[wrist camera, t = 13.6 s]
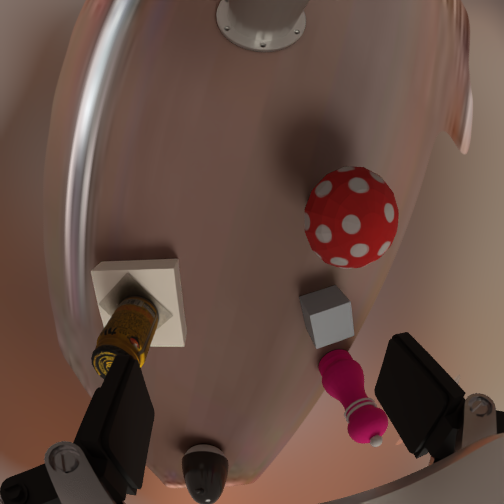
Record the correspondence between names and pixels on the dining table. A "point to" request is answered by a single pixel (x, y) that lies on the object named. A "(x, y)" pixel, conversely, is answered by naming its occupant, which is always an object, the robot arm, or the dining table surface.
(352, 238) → the decorative mushroom
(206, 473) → the dark grey domed cylinder
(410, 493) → the robot arm
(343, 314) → the slate cube
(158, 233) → the dining table surface
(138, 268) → the cream block
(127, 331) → the condiment
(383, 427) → the pepper mill
